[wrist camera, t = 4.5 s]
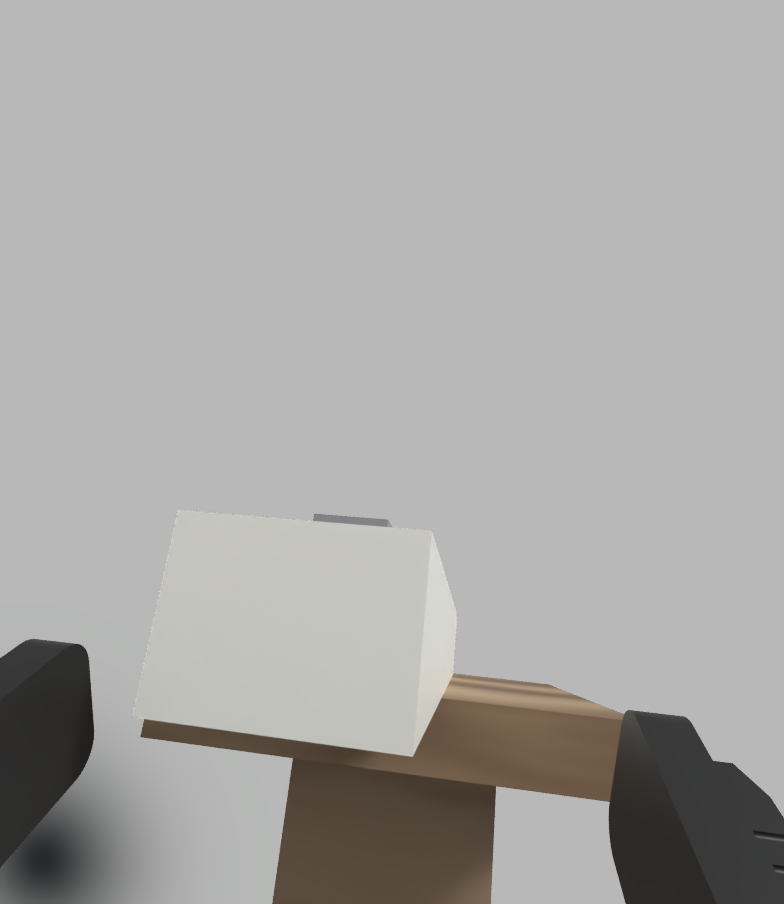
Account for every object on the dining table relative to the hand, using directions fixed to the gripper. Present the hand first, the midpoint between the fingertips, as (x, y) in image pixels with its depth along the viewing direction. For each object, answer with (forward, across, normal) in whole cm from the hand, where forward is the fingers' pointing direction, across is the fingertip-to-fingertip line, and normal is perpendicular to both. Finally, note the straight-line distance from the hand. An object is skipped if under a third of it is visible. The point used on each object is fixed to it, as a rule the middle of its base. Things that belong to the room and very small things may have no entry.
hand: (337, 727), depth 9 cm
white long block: (+11, 0, +6) cm, 13 cm away
